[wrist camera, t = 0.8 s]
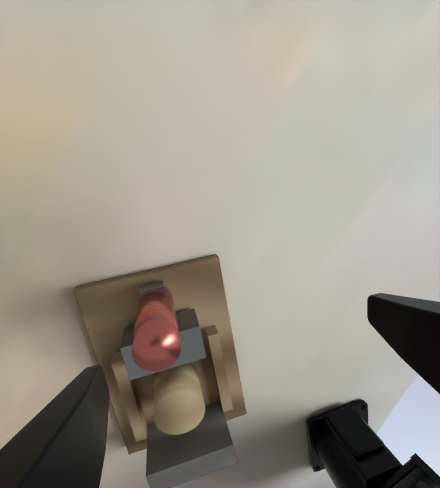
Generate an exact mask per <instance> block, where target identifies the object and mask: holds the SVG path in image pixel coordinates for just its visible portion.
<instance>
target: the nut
mask: <svg viewBox="0 0 440 488" xmlns="http://www.w3.org/2000/svg"><path fill="white" fill-rule="evenodd" d="M204 414H205V404H204V400H203V395H202V391H201V387H200V382H199V378H198V373H197V370H196V368H195V366H194V365H193V364H192V363H191V362H190V363H186V364H183V365H180V366H176V367H173V368H170V369H166V370H163V371H160V372H156V373H155V375H154V423H155V425H156V427H157V428H158V429H159V430H160V431H162V432H164V433H166V434H171V435H179V434H183V433H186V432H189V431H190V430H192V429H194V428H195V427H196V426H197V425H198V424H199V423H200V422H201V420H202V419H203V417H204Z"/></svg>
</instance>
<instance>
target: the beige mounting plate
mask: <svg viewBox="0 0 440 488" xmlns="http://www.w3.org/2000/svg"><path fill="white" fill-rule="evenodd" d="M161 280H163V282H164V286H165V287H166V288H168V289H169V290H170V292H171V293H172V295H173V301H174V307H175V313H178V312H181V311H185V310H189V309H193V308H194V309H195V312H196V316H197V319H198V322H199V325H200V330H201V334H202V339H203V344H204V349H205V353H206V358H203V359H200V360H196V361H193V362H191V363H192V364H193V365H194V366H195V368H196V370H197V373H198V378H199V382H200V387H201V391H202V395H203V400H204V404H205V414H204V417H203V419H202V420H201V422H200V423H199V424H198V425H197V426H196V427H195V428H194V429H192V430H190V431H189V432H186V433H183V434H179V435H171V434H166V433H164V432H162V431H160V430H159V429H158V428H157V427H156V425H155V423H154V375H155V373H153V374H150V375H146V376H143V377H140V378H136V379H133V380H130V379H129V375H128V372H127V369H126V366H125V362H124V359H123V356H122V353H121V349H120V347H121V342H122V336H123V331H124V327H125V326H128V325H132V324H135V322H136V314H137V307H138V299H139V296H140V295H139V287H140V285H144V284H148V283H153V282H157V281H161ZM74 294H75V297H76V300H77V303H78V306H79V309H80V312H81V314H82V317H83V320H84V323H85V326H86V329H87V332H88V335H89V338H90V341H91V344H92V347H93V350H94V353H95V356H96V359H97V362H98V365H101V366H102V367H103V370H104V373H105V377H106V380H107V384H108V387H109V397H110V400H111V403H112V406H113V409H114V412H115V415H116V418H117V421H118V424H119V427H120V430H121V433H122V436H123V438H124V441H125V444H126V447H127V450H128V453H129V454H131V453H134V452H137V451H140V450H143V449H146V448H147V464H146V477H147V480H148V483H149V487H150V488H171V487H174V486H176V485H179V484H182V483H184V482H187V481H190V480H192V479H195V478H198V477H200V476H203V475H206V474H208V473H211V472H214V471H216V470H219V469H222V468H224V467H227V466H230V465H232V464H235V463H237V462H236V457H235V452H234V447H233V443H232V440H231V436H230V433H229V429H228V426H227V423H226V421H227V420H230V419H232V418H235V417H238V416H241V415H244V414H246V409H245V404H244V398H243V392H242V387H241V381H240V375H239V370H238V364H237V358H236V353H235V347H234V341H233V336H232V330H231V325H230V319H229V313H228V308H227V302H226V296H225V291H224V285H223V279H222V274H221V268H220V262H219V257H218V256H217V255H216V254H215V255H211V256H207V257H202V258H198V259H194V260H189V261H185V262H181V263H176V264H172V265H168V266H164V267H159V268H155V269H151V270H146V271H142V272H138V273H133V274H129V275H125V276H120V277H116V278H112V279H107V280H103V281H99V282H94V283H90V284H86V285H82V286H77V287H76V288H75V290H74Z"/></svg>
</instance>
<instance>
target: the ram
mask: <svg viewBox="0 0 440 488" xmlns="http://www.w3.org/2000/svg"><path fill="white" fill-rule="evenodd" d="M139 295H140V296H139V299H138V307H137V314H136V322H135V324H132V325H128V326H125V327H124V331H123V336H122V342H121V347H120V349H121V353H122V356H123V359H124V362H125V366H126V369H127V372H128V375H129V379H130V380H133V379H136V378H140V377H143V376H146V375H150V374H153V373H156V372H160V371H163V370H166V369H170V368H173V367H176V366H180V365H183V364H186V363H190V362H193V361H196V360H200V359H203V358H206V353H205V349H204V344H203V339H202V334H201V330H200V325H199V322H198V319H197V316H196V312H195V309H194V308H193V309H189V310H185V311H181V312H178V313H175V307H174V301H173V295H172V293H171V292H170V290H169V289H168V288H166V287H165V286H164V282H163V280H161V281H157V282H153V283H148V284H144V285H140V287H139Z"/></svg>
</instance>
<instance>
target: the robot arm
mask: <svg viewBox="0 0 440 488" xmlns="http://www.w3.org/2000/svg"><path fill="white" fill-rule="evenodd" d="M367 317H368V320H369V322H370V324H371V325H372V326H373V327H374V328H375V330H376V331H377V332H378V333H379V334H380V335H381V336H382V337H383V338H384V340H385V341H386V342H387V343H388V344H389V345H390V346H391V347H392V348H393V349H394V351H395V352H396V353H397V354H398V355H399V356H400V357H401V358H402V359H403V360H404V361H405V362H406V363H407V364H408V365H409V366H410V367H411V368H412V369H413V370H415V371H416V372H417V373H418V374H419V375H420V376H421V377H422V378H423V379H424V380H425V381H426V382H427V383H428V384H430V385H431V386H432V387H433V388H434V389H435V390H436V391H437V392H438V393H439V394H440V302H436V301H429V300H423V299H416V298H410V297H403V296H397V295H390V294H384V293H377V294H374V295H370V296H369V297H368V300H367ZM108 408H109V387H108V384H107V380H106V377H105V373H104V370H103V367H102V366H101V365H95V366H91V367H87V368H85V369H84V370H83V371H82V372H81V373H80V374H79V375H78V376H77V377H76V378H75V379H74V380H73V381H72V382H71V383H70V384H69V385H67V386H66V387H65V388H64V389H63V390H62V391H61V392H60V393H59V394H58V395H57V396H56V397H55V398H54V399H53V400H52V401H51V402H50V403H49V404H48V405H47V406H46V407H44V408H43V409H42V410H41V411H40V412H39V413H38V414H37V415H36V416H35V417H34V418H33V419H32V420H31V421H30V422H29V423H28V424H27V425H26V426H25V427H24V428H23V429H21V430H20V431H19V432H18V433H17V434H16V435H15V436H14V437H13V438H12V439H11V440H10V441H9V442H8V443H7V444H6V445H5V446H4V447H3V448H2V449H1V450H0V488H99V485H100V479H101V473H102V468H103V462H104V456H105V449H106V437H107V423H108ZM307 433H308V443H309V452H310V462H311V467H312V469H313V471H314V472H317V471H320V470H322V469H326V471H327V472H328V474H329V476H330V478H331V479H332V481H333V483H334V484H335V486H336V488H440V477H439V476H438V475H437V474H436V473H435V472H434V471H433V470H432V469H431V468H430V467H429V466H428V465H427V464H426V463H425V462H424V461H423V460H422V459H421V458H420V457H419V456H418V455H417V454H416V453H415V454H414V455H413V456H411V459H410V460H409V461H408V462H407V463H405V464H404V465H402V464H401V463H400V462H399V461H398V460H397V458H396V457H395V456H394V455H393V454H392V453H391V451H390V450H389V449H388V448H387V447H386V446H385V445H384V443H383V441H382V440H381V439H380V438H379V437H378V436H377V435H376V433H375V432H374V431H373V430H372V429H371V428H370V426H369V425H368V405H367V403H366V402H365V401H364V400H359V401H356V402H353V403H351V404H348V405H345V406H343V407H340V408H337V409H334V410H332V411H329V412H326V413H323V414H321V415H318V416H315V417H312V418H310V419H309V420H308V421H307Z"/></svg>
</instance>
